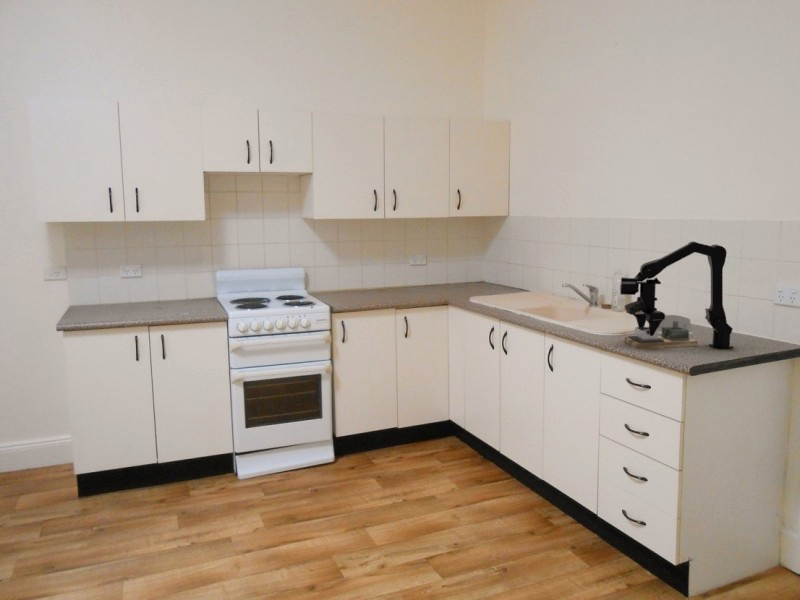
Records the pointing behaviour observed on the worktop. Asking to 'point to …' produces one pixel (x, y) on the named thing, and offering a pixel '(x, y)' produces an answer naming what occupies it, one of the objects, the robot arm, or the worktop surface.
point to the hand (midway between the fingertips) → (646, 333)
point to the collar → (645, 333)
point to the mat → (645, 340)
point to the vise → (667, 338)
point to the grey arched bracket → (682, 323)
